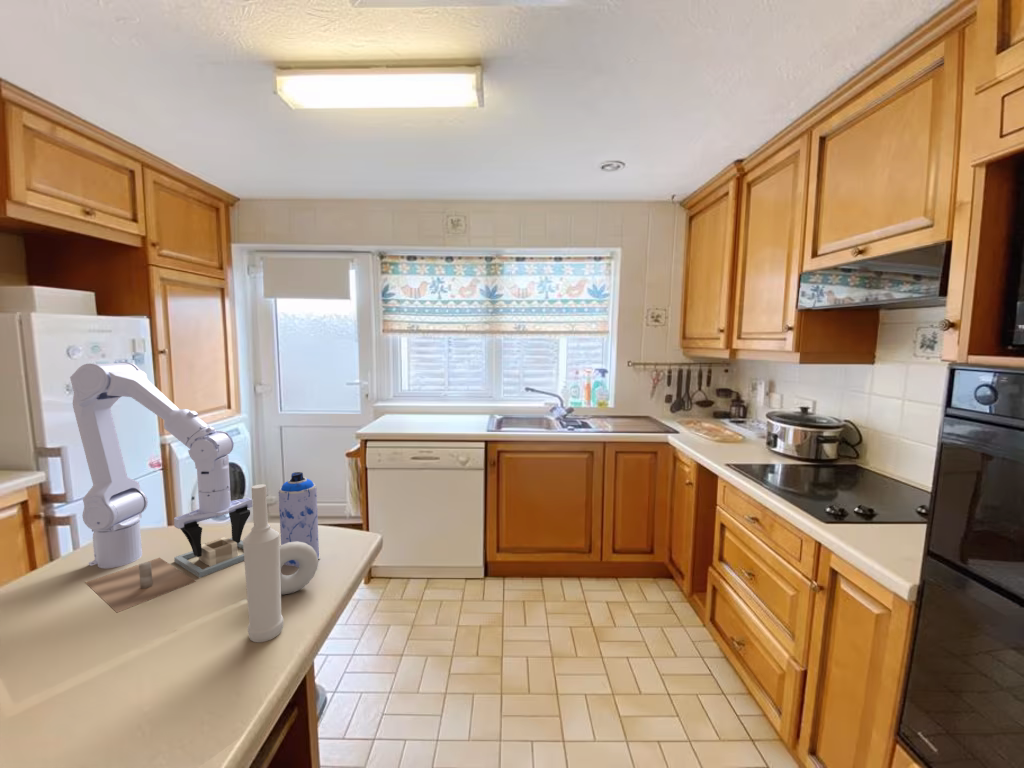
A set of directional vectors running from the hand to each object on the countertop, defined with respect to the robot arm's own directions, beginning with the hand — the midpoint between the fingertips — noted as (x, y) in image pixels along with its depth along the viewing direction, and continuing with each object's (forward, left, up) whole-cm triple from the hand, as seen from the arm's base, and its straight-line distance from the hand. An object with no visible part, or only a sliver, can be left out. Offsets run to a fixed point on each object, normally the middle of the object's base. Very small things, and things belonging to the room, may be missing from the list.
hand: (217, 548), depth 95 cm
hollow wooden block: (0, 0, -2) cm, 3 cm away
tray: (0, 0, -3) cm, 3 cm away
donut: (+25, +2, -3) cm, 25 cm away
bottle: (+33, -7, -3) cm, 34 cm away
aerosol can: (+15, +10, -3) cm, 18 cm away
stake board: (-2, -13, -3) cm, 14 cm away
